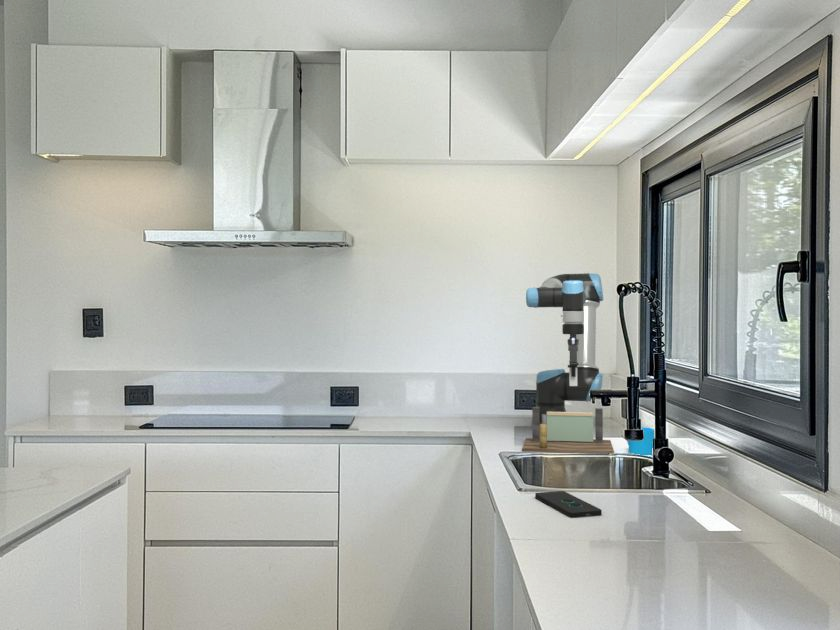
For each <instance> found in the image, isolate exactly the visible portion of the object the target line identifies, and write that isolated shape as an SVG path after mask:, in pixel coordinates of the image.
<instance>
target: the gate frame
mask: <svg viewBox="0 0 840 630" xmlns="http://www.w3.org/2000/svg"><path fill="white" fill-rule="evenodd" d="M531 409H532V411H531V412H532V414H531V416H532V421H531V422H532V423H531V424H532V437H525V439H524V442H523V445H522V447H521V452H533V453H535V452H536V453H562V454H563V453H564V454H565V453H566V454H575V453H574V452H581V453H580V454H592V453H614V454H615V450H614V447H613V444H612V442H611V439H604V438H603V435H604V434H603V433H604V429H603V427H604V425H603V424H604V423H603V420H604V418H603V414H604V413H603V411H604V410H603V408H599V407H596V408H595V409H594V413H595V414H594V416H595V417H594V418H595V424H594V425H595V429H594V430H595V435H594V438H595V439H594V438H593V442H582V441H547V424H540V407H536V406H533V407H532V408H531Z"/></svg>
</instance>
